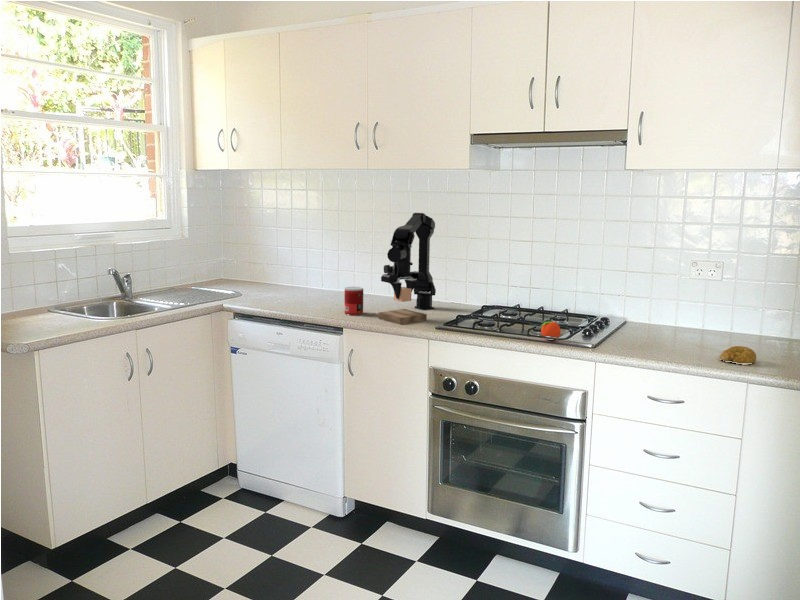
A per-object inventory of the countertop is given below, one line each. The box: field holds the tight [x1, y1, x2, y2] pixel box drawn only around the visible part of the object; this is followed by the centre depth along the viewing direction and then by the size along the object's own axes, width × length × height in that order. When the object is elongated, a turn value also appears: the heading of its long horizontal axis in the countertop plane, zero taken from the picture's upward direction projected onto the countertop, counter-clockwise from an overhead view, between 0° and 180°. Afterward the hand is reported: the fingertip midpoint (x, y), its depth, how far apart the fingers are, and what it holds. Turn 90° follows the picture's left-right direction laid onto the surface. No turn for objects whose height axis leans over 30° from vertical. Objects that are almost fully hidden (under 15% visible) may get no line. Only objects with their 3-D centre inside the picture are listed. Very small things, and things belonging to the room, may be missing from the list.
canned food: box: [344, 286, 364, 316], centre depth 282 cm, size 8×8×11 cm
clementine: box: [539, 320, 562, 338], centre depth 240 cm, size 8×7×7 cm
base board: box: [377, 308, 428, 325], centre depth 272 cm, size 14×14×2 cm
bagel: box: [718, 345, 758, 364], centre depth 216 cm, size 10×11×5 cm
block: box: [393, 286, 413, 303], centre depth 271 cm, size 5×5×5 cm
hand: (402, 298), depth 271 cm, fingers closed on block, 5 cm apart
